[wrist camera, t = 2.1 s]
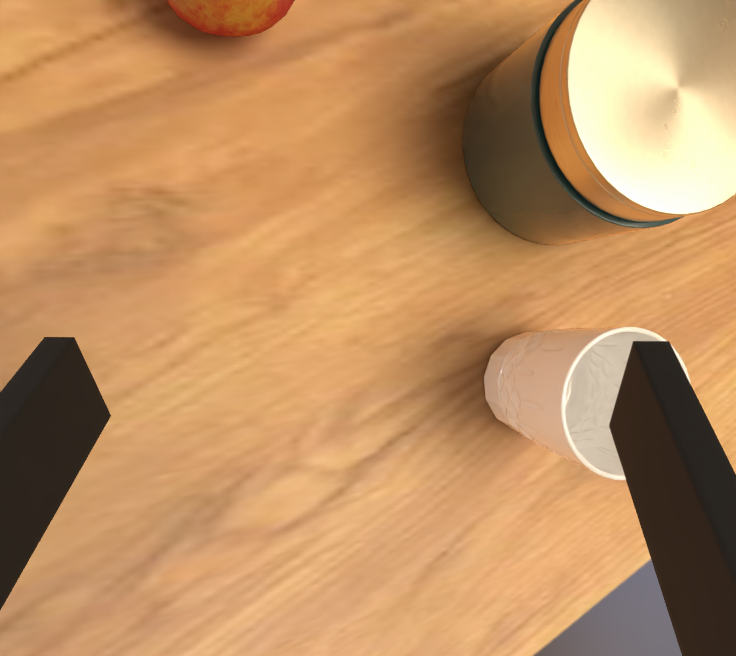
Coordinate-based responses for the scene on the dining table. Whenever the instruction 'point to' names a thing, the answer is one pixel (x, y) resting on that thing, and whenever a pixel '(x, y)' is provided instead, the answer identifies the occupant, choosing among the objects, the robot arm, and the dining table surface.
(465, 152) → the jar
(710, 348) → the dining table surface
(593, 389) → the white cup
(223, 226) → the dining table surface
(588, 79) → the jar lid
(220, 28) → the fruit
